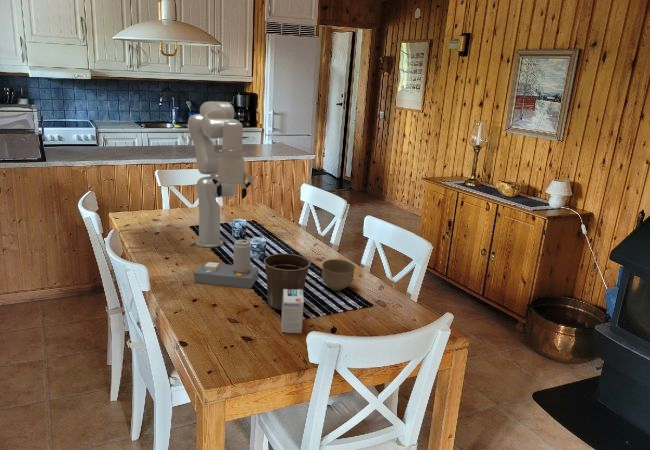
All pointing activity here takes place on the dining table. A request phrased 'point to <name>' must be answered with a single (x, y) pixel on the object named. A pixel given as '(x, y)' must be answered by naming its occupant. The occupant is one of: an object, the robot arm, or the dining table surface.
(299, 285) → the plant pot
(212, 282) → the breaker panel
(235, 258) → the beverage can
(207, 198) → the robot arm
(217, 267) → the block
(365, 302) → the dining table surface
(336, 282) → the bowl
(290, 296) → the light bulb box
